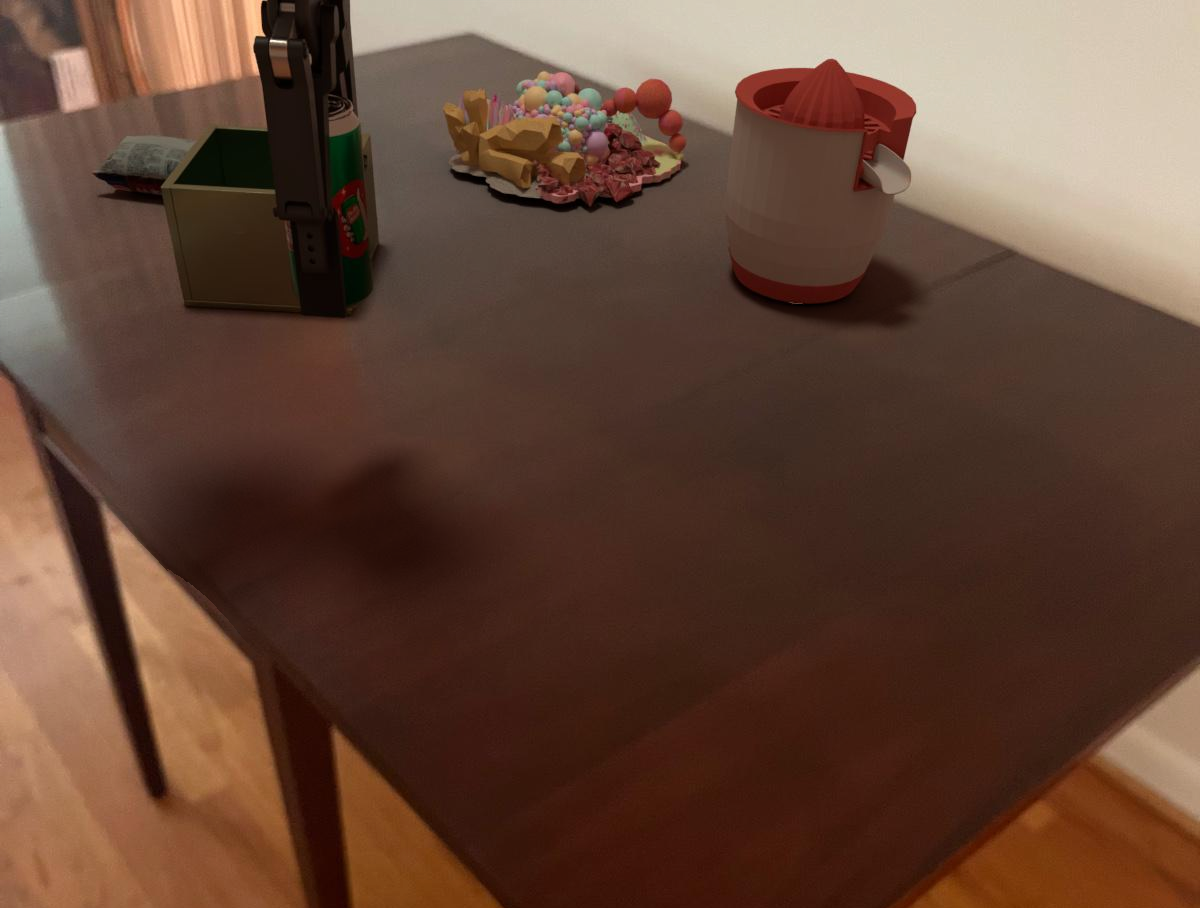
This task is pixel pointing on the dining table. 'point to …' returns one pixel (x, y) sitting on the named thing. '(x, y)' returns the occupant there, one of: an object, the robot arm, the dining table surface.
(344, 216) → the soda can
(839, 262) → the citrus juicer
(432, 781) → the dining table surface
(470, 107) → the food platter
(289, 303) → the bin
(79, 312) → the dining table surface
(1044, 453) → the dining table surface
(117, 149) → the packaged food
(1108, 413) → the dining table surface
